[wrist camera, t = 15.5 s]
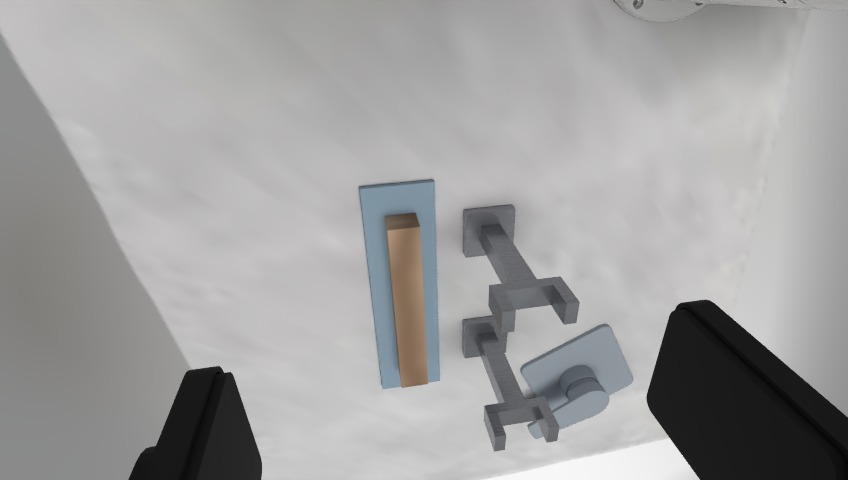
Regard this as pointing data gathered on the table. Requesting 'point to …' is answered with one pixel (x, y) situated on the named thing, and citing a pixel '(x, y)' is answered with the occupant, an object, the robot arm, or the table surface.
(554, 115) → the table surface
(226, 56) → the table surface
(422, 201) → the mat
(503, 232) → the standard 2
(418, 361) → the rail
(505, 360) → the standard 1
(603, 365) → the shower valve
